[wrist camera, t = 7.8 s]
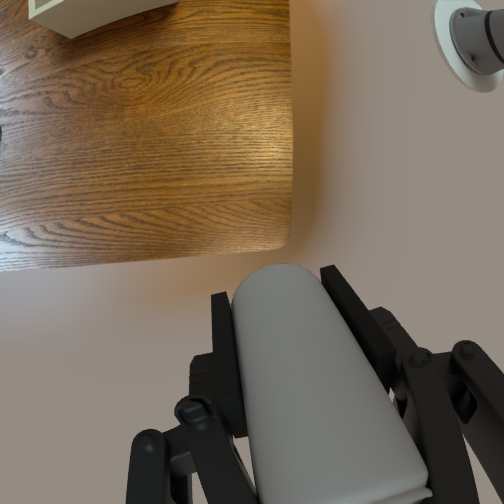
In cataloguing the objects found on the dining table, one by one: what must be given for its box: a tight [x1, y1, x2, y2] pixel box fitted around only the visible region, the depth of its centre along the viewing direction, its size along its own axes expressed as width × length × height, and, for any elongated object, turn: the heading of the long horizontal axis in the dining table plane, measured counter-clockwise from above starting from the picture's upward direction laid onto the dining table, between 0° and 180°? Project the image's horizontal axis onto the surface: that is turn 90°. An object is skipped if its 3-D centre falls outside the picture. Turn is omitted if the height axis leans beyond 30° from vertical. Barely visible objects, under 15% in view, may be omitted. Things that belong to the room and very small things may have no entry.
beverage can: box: [231, 263, 433, 504], centre depth 10 cm, size 5×5×12 cm
